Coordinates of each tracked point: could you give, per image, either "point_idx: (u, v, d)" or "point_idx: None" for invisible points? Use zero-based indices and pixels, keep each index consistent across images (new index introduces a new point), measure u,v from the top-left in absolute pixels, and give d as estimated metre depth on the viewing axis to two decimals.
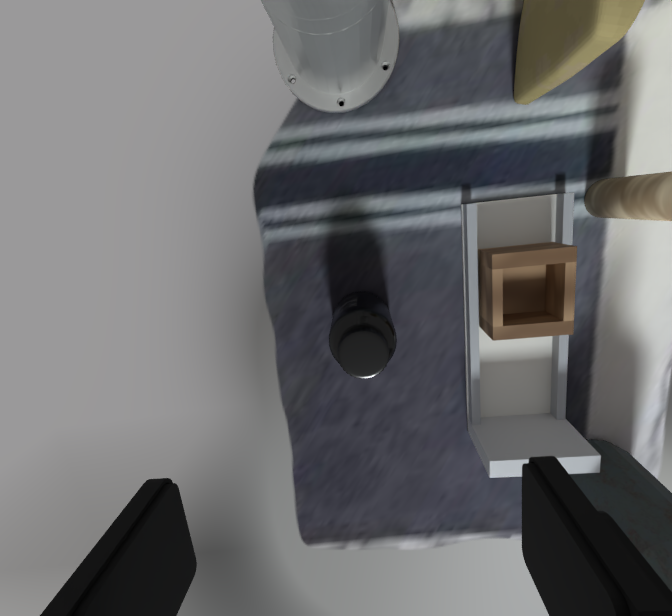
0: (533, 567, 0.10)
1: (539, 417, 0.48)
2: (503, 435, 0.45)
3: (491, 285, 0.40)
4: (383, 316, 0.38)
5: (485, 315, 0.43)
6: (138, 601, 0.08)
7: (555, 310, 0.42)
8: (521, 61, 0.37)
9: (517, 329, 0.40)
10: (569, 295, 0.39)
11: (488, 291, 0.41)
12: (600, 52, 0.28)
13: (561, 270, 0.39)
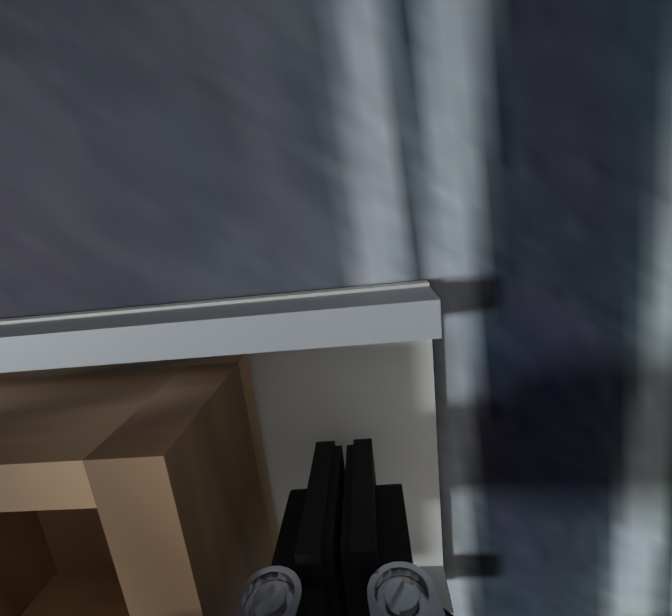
0: None
1: None
2: None
3: (10, 454, 0.07)
4: None
5: None
6: None
7: None
8: None
9: None
10: None
11: (17, 426, 0.08)
12: None
13: None
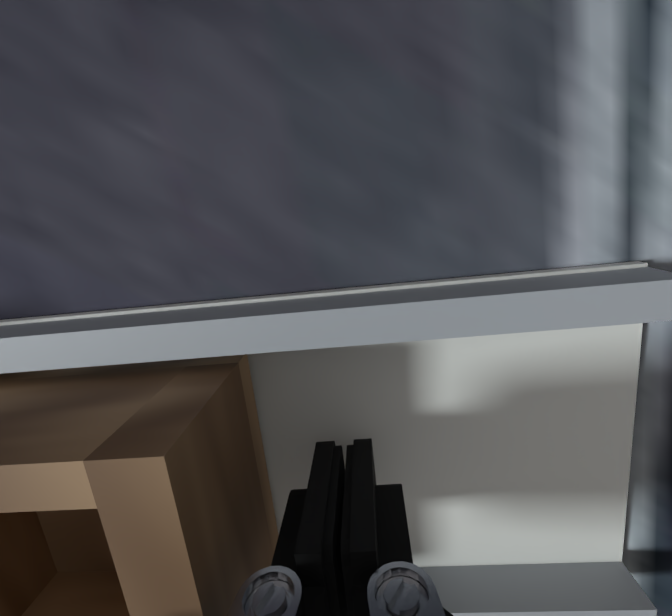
0: None
1: None
2: None
3: (10, 455, 0.07)
4: None
5: None
6: None
7: None
8: None
9: None
10: None
11: (18, 426, 0.08)
12: None
13: None
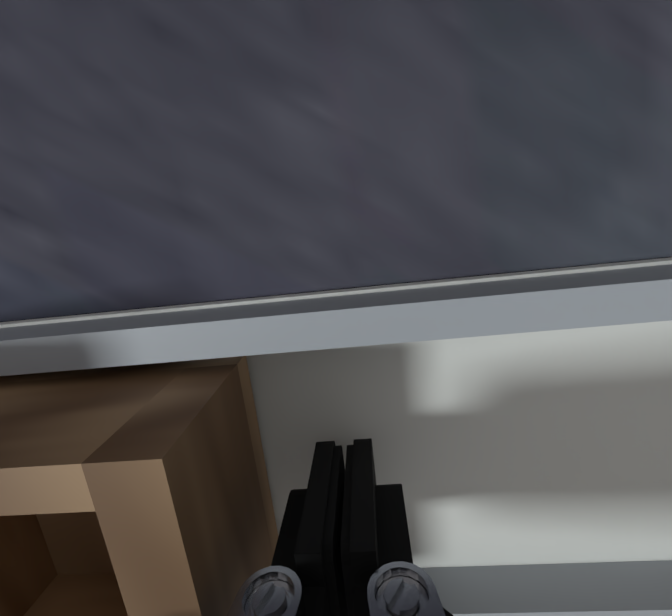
0: None
1: None
2: None
3: (8, 458, 0.07)
4: None
5: None
6: None
7: None
8: None
9: None
10: None
11: (16, 430, 0.08)
12: None
13: None
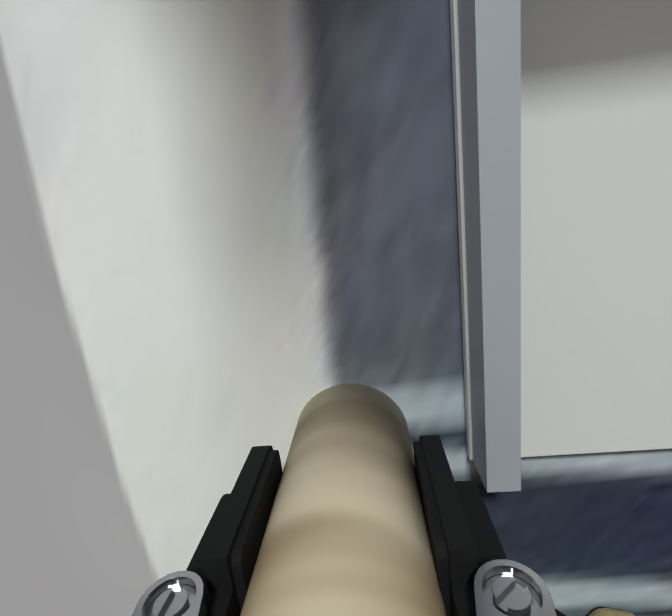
0: None
1: None
2: None
3: None
4: None
5: None
6: None
7: None
8: None
9: None
10: None
11: None
12: None
13: None
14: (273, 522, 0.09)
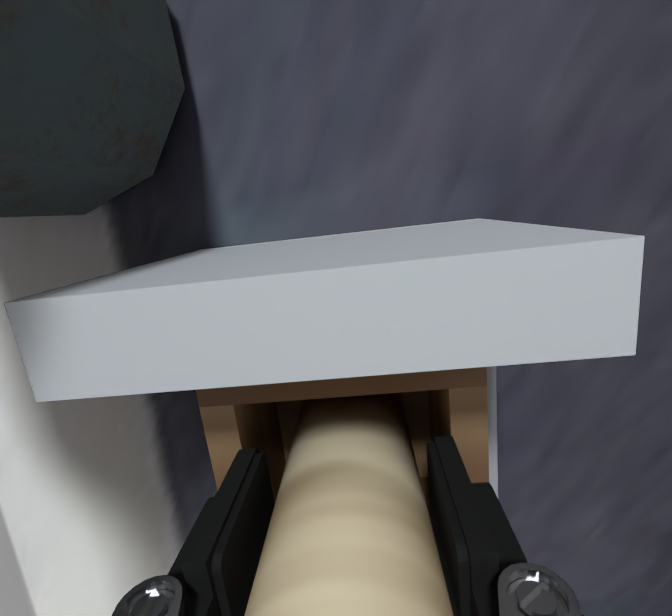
0: (435, 534, 0.11)
1: None
2: None
3: None
4: None
5: None
6: (249, 553, 0.09)
7: None
8: None
9: (393, 376, 0.11)
10: None
11: None
12: None
13: None
14: (288, 475, 0.10)
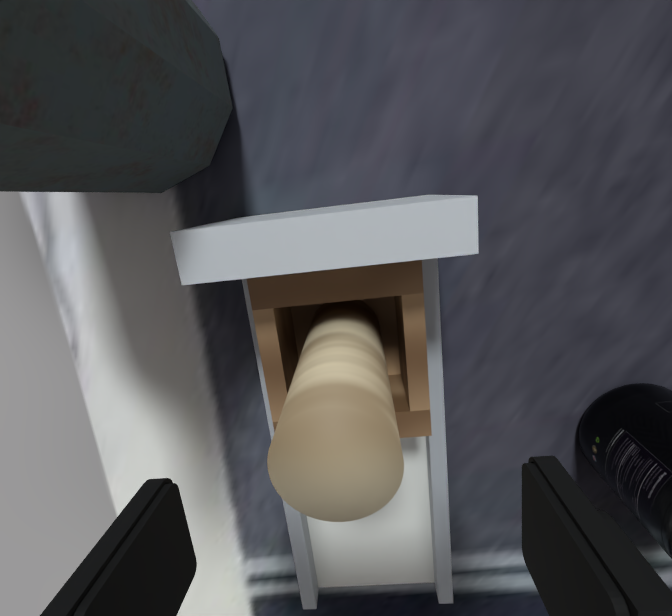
0: (533, 567, 0.10)
1: None
2: None
3: None
4: None
5: None
6: (138, 601, 0.08)
7: (282, 310, 0.20)
8: None
9: (368, 288, 0.18)
10: (272, 361, 0.19)
11: None
12: None
13: None
14: (306, 344, 0.18)
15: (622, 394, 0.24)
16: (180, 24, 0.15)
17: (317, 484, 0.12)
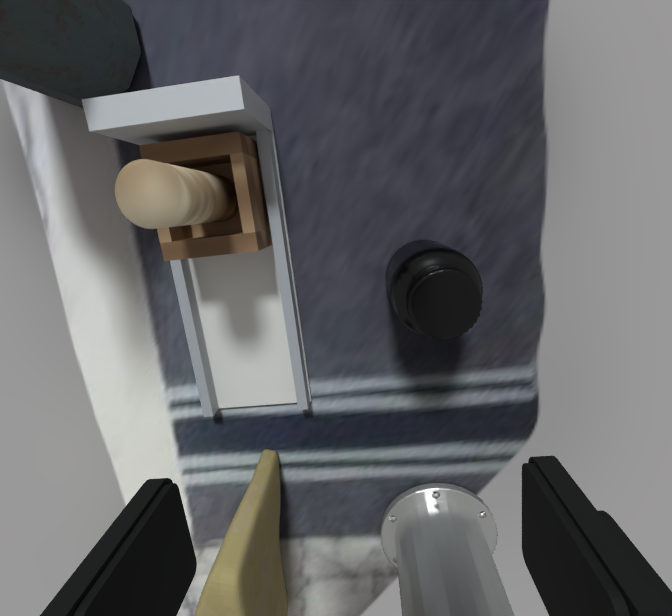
0: (533, 567, 0.10)
1: None
2: (224, 127, 0.31)
3: (252, 210, 0.31)
4: (407, 327, 0.30)
5: (252, 163, 0.33)
6: (138, 601, 0.08)
7: None
8: (277, 490, 0.41)
9: (210, 149, 0.30)
10: None
11: (254, 200, 0.32)
12: (226, 549, 0.31)
13: (173, 230, 0.33)
14: None
15: (405, 245, 0.35)
16: None
17: (140, 205, 0.24)
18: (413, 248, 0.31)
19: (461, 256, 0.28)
